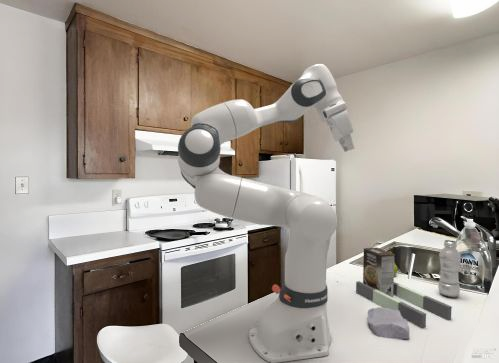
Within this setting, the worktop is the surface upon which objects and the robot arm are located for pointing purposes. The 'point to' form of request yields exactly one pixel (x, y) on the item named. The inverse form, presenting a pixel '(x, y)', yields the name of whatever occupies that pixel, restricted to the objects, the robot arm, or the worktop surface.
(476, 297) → the worktop surface
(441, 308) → the track
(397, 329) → the stone block
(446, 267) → the plastic bottle
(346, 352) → the worktop surface
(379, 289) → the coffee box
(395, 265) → the fruit
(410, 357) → the worktop surface
